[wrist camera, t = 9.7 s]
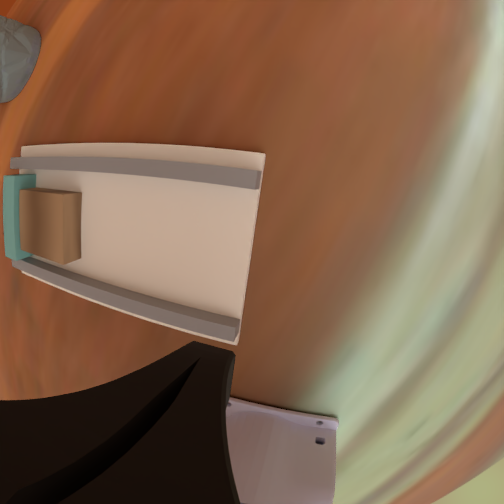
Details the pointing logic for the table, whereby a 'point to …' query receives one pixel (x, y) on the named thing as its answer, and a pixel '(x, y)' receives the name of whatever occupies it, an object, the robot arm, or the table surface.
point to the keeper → (50, 223)
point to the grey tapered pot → (16, 56)
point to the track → (149, 229)
